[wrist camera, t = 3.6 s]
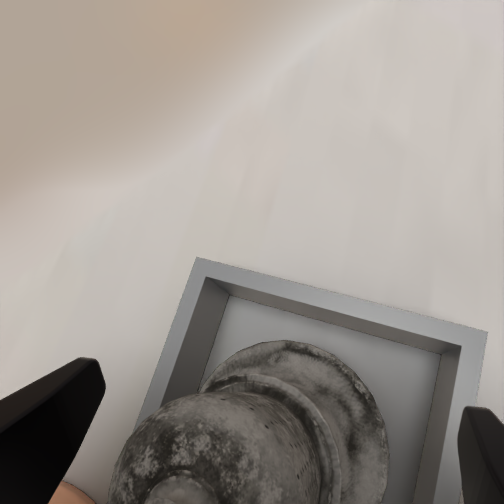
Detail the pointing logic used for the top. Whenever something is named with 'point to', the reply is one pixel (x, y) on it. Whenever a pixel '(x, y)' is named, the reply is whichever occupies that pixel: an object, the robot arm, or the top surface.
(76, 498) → the coaster
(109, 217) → the top surface
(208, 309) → the tub
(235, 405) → the grey tall domed piece
